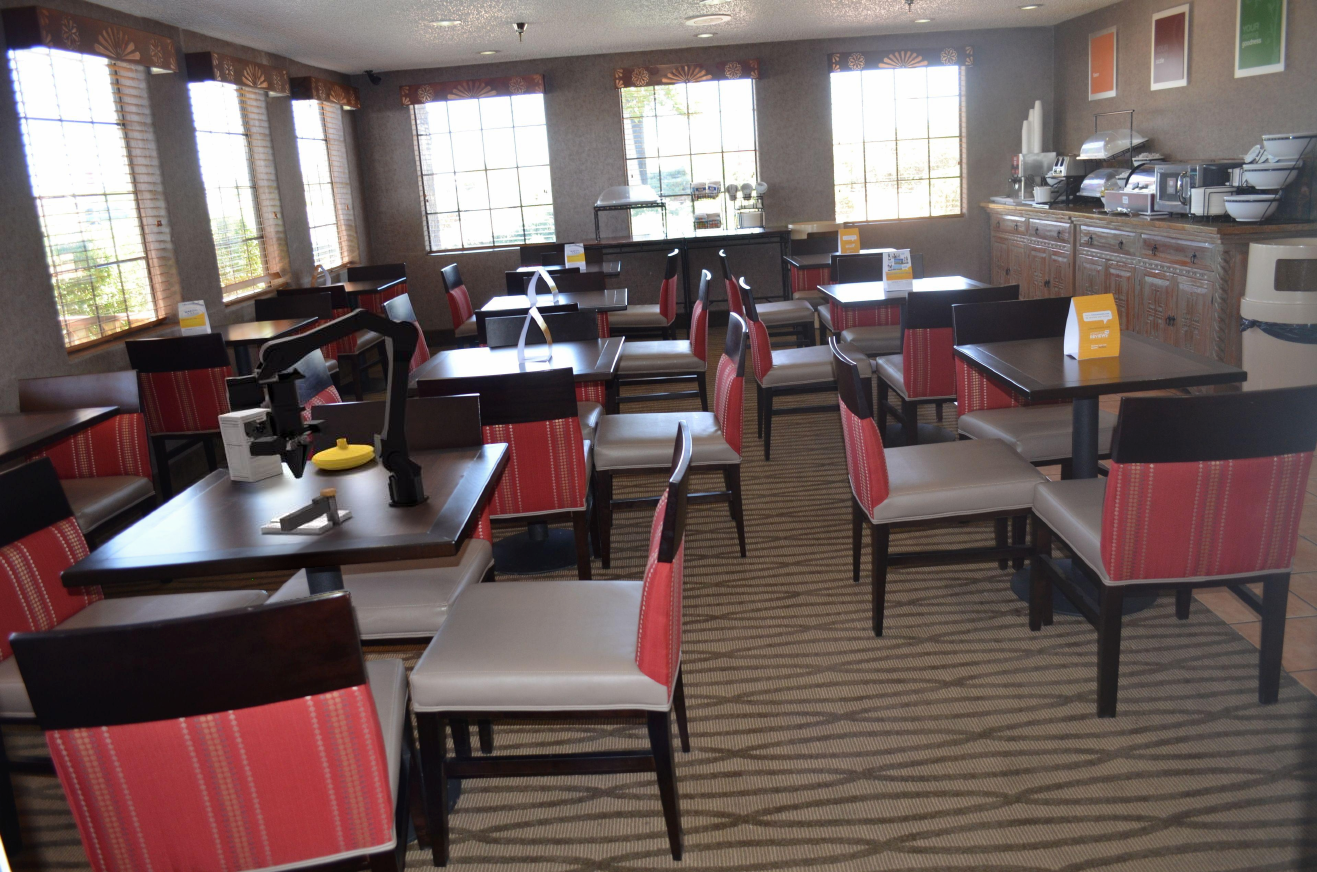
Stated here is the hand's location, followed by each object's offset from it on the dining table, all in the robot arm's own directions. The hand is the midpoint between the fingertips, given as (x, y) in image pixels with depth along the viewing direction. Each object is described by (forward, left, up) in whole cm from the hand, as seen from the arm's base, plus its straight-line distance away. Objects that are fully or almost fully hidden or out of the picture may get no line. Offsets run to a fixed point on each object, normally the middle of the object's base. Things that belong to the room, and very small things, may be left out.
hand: (298, 478), depth 195 cm
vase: (+21, -44, -10) cm, 50 cm away
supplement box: (+41, -35, -10) cm, 55 cm away
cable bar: (-6, +6, -6) cm, 11 cm away
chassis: (0, 0, -10) cm, 10 cm away
